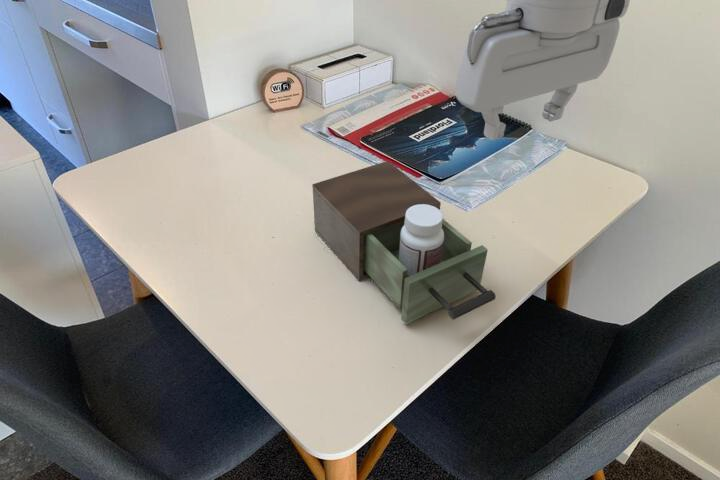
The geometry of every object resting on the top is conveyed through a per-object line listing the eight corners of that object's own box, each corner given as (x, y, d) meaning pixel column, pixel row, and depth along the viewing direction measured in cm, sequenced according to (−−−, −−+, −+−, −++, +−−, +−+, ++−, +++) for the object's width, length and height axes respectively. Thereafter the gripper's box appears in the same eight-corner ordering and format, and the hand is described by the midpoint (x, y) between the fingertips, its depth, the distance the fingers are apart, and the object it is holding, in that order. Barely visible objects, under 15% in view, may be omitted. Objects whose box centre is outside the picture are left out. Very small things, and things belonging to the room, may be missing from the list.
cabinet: (434, 250, 86) (441, 202, 80) (359, 281, 80) (359, 232, 74) (385, 206, 96) (387, 160, 90) (314, 231, 90) (312, 184, 84)
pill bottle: (438, 263, 80) (446, 203, 73) (438, 291, 76) (447, 229, 68) (398, 260, 81) (402, 200, 74) (396, 287, 76) (400, 226, 69)
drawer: (506, 313, 74) (517, 273, 69) (431, 352, 68) (437, 311, 63) (424, 240, 86) (429, 201, 82) (355, 268, 81) (355, 228, 76)
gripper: (496, 27, 46) (473, 162, 55) (641, -3, 55) (601, 118, 64) (451, 9, 51) (436, 137, 59) (592, -16, 59) (561, 100, 68)
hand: (523, 127), depth 62 cm, fingers open, 8 cm apart
